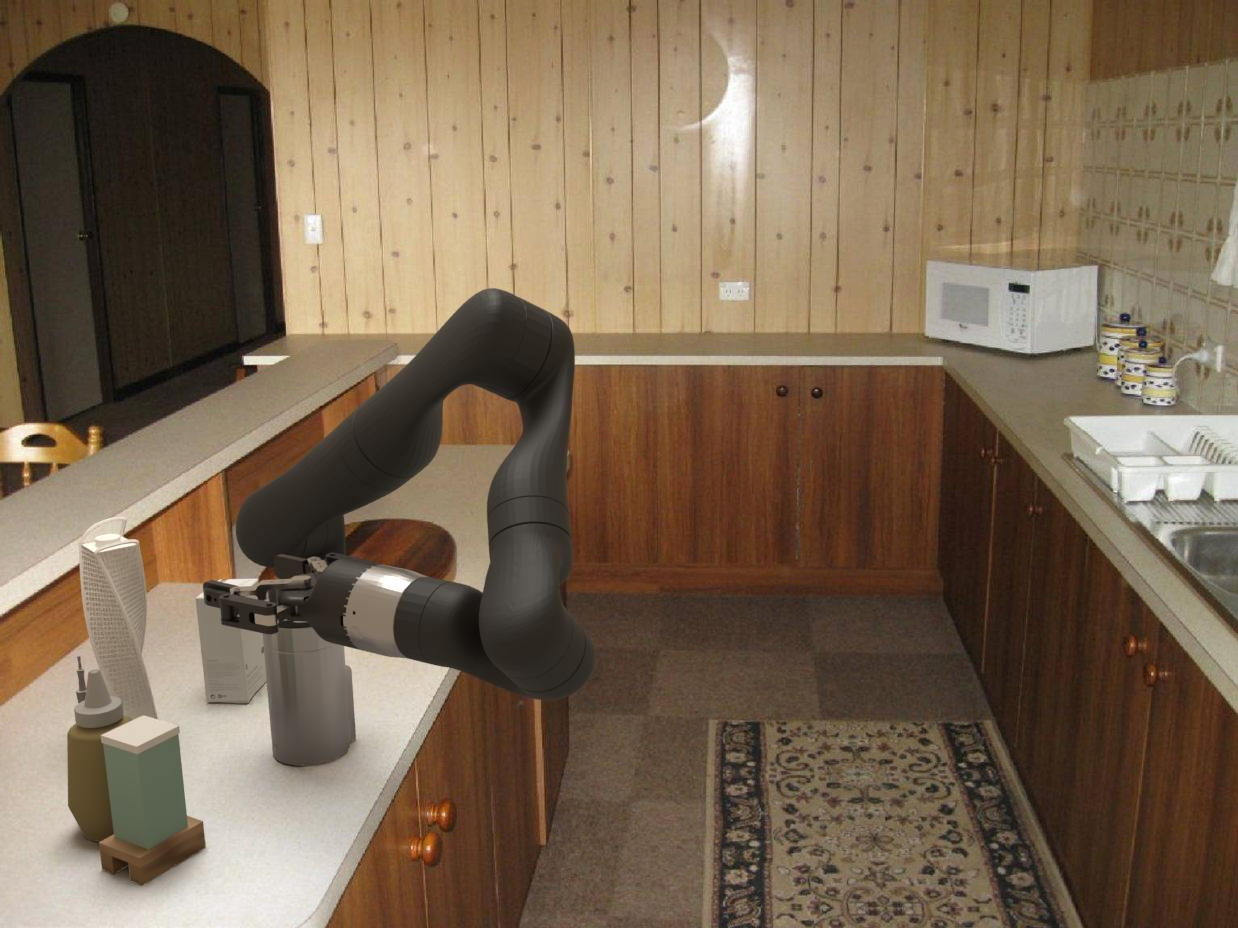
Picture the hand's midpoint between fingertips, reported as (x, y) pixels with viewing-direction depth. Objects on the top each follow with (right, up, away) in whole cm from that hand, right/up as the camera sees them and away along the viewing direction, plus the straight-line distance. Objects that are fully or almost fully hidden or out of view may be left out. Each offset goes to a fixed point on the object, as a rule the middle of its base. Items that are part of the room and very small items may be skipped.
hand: (242, 578), depth 114 cm
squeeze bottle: (-19, -29, +19) cm, 39 cm away
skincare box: (-17, -20, +53) cm, 59 cm away
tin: (-13, -27, +12) cm, 32 cm away
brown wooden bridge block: (-13, -30, +13) cm, 35 cm away
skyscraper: (-26, -24, +39) cm, 53 cm away
